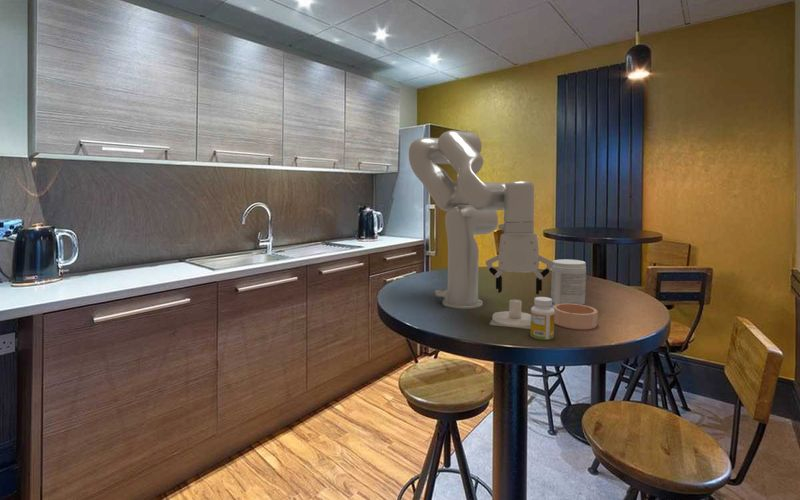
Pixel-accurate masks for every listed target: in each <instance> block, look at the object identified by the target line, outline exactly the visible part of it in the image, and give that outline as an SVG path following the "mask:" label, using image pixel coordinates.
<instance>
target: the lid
mask: <svg viewBox="0 0 800 500" xmlns="http://www.w3.org/2000/svg"><path fill="white" fill-rule="evenodd" d="M508 301H509V304H508V305H509V306H508V311H507V310H506V311H505V310H504V311H498V312H497V311H496V312H497V313H495V312H494V313H495V314H494V313H493V314H492V319H491V320H493V321H494V322H496V323H498V324H501V325H504V326H503V327H506V326H510V327H509V328H515V327H530V325H531V313H528V312H524V311H522V307H523V306H522V305H523V304H522V300H520V299H510V300H508Z"/></svg>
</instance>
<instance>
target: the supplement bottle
mask: <svg viewBox="0 0 800 500" xmlns="http://www.w3.org/2000/svg"><path fill="white" fill-rule="evenodd" d="M533 299H534V300H533V301H534V302H533V303H534V305H533V306H532V307H531V308H530V314H531V325H530V329H529V330H530V332H529V334H530V336H531V337H532V338H535V339H538V340H551V339H553V338H554V336H555V323H554V317H555V311H554V309H553V307H551V305H552V299H551V297H547V296H536V297H534V298H533Z"/></svg>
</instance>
